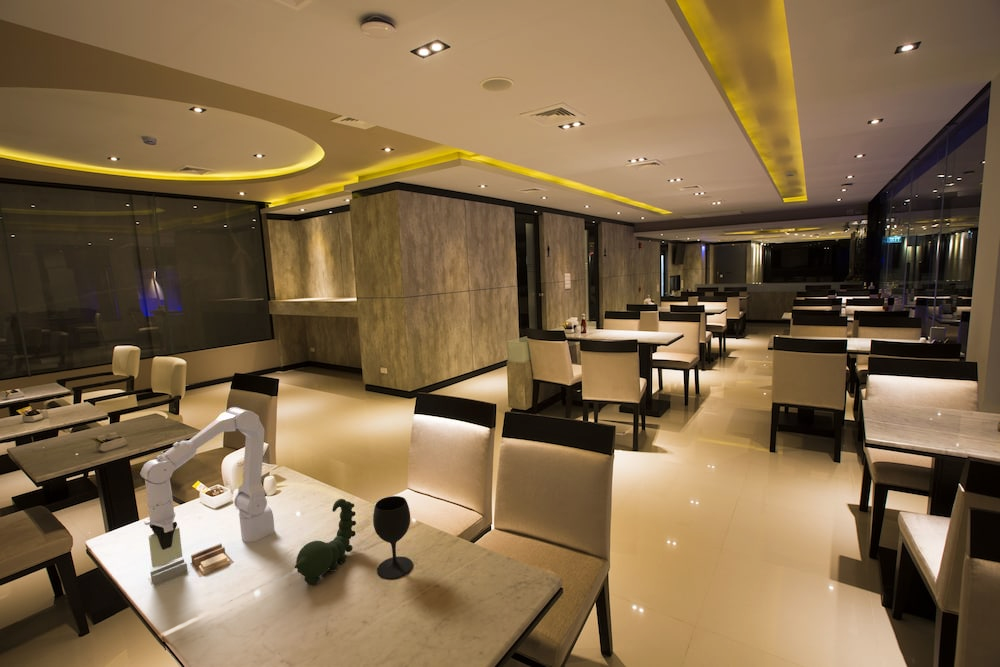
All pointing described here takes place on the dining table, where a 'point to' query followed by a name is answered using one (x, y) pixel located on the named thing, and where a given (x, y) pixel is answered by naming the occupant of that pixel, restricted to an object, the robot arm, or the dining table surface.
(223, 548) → the walnut rack
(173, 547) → the sage sheet
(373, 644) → the dining table surface
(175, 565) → the slate stand
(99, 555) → the dining table surface
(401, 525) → the wine glass
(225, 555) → the lower pine offcut
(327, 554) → the toy figurine
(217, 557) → the upper pine offcut
